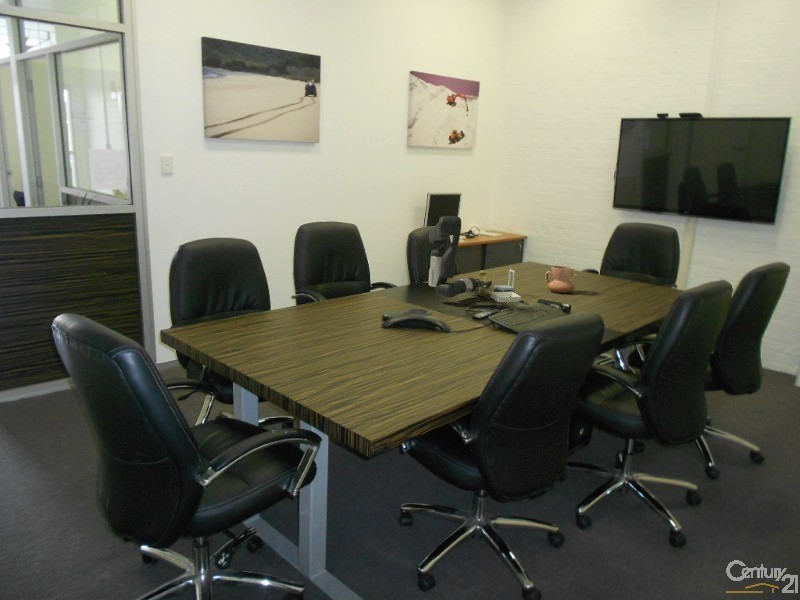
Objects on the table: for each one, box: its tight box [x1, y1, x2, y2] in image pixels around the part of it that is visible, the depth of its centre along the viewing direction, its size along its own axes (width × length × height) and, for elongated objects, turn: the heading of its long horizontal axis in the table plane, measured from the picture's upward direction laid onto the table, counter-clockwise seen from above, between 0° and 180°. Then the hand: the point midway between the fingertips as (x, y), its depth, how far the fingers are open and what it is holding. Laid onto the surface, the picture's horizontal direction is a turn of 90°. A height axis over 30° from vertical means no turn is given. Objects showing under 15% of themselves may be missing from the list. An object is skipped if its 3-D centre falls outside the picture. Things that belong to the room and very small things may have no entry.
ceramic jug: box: [544, 265, 578, 294], centre depth 330 cm, size 18×14×14 cm
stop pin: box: [478, 270, 489, 297], centre depth 314 cm, size 5×5×13 cm
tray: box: [490, 291, 522, 303], centre depth 306 cm, size 12×12×3 cm
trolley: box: [492, 269, 516, 294], centre depth 316 cm, size 10×7×14 cm
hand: (485, 281), depth 315 cm, fingers open, 7 cm apart
